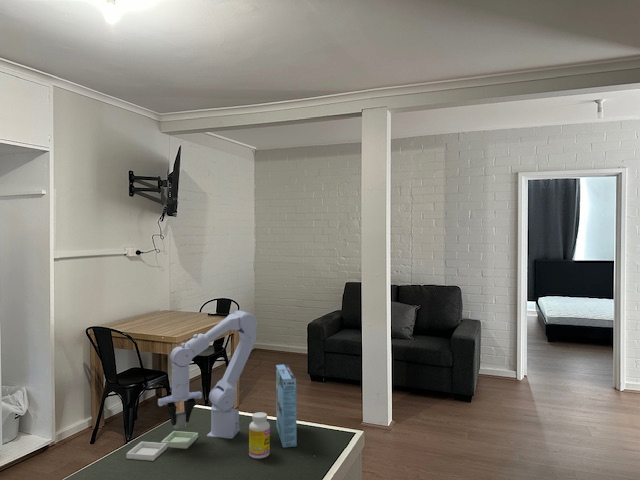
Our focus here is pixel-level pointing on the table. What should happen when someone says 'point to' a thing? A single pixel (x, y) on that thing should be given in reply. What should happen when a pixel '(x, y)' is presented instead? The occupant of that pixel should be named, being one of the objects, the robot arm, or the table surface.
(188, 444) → the sage tray
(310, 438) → the table surface
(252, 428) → the supplement bottle
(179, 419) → the grey cylinder
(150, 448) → the grey tray
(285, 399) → the light blue carton
